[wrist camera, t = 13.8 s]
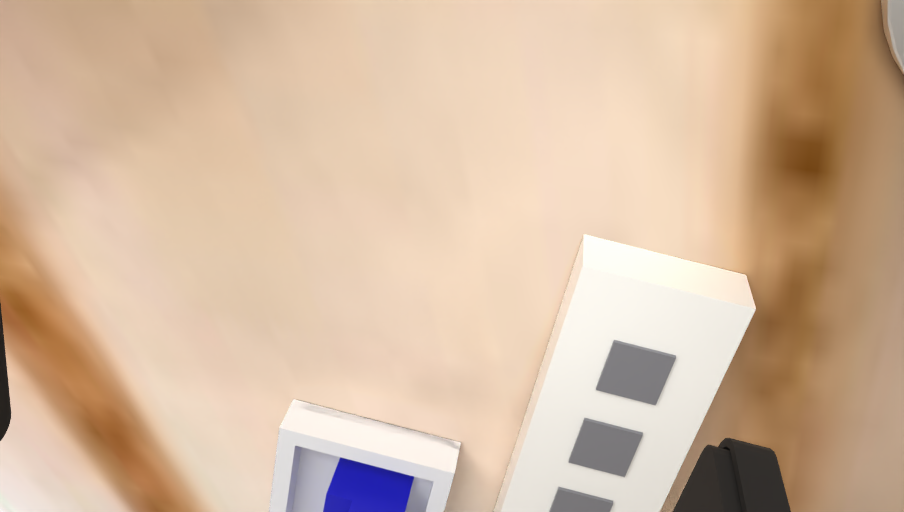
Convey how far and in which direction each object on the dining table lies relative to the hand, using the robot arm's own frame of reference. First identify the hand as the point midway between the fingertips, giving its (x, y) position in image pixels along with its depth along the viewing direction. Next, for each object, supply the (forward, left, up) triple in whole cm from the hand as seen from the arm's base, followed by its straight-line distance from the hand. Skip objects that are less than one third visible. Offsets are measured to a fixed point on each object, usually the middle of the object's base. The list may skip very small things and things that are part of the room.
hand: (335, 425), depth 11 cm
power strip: (-10, +23, -28) cm, 38 cm away
